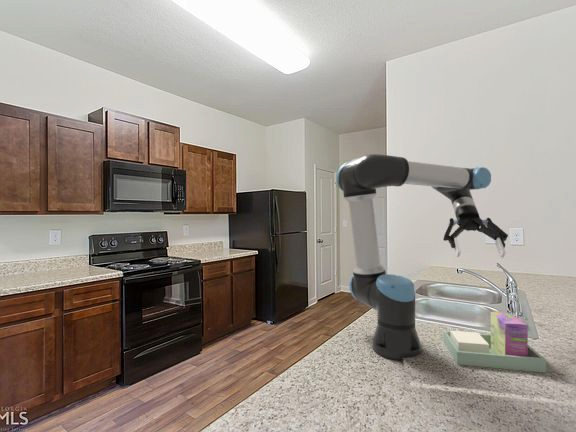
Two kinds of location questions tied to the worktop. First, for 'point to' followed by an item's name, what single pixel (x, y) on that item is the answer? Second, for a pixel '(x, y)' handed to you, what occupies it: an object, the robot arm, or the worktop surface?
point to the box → (508, 334)
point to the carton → (469, 342)
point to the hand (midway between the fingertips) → (480, 254)
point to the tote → (496, 357)
